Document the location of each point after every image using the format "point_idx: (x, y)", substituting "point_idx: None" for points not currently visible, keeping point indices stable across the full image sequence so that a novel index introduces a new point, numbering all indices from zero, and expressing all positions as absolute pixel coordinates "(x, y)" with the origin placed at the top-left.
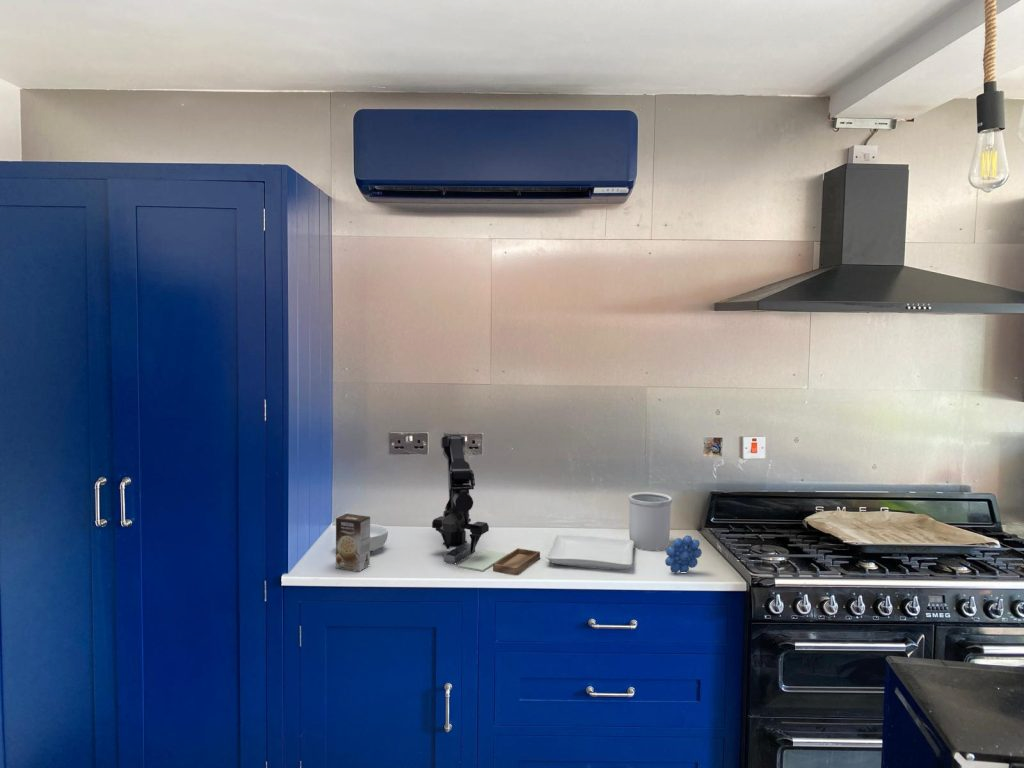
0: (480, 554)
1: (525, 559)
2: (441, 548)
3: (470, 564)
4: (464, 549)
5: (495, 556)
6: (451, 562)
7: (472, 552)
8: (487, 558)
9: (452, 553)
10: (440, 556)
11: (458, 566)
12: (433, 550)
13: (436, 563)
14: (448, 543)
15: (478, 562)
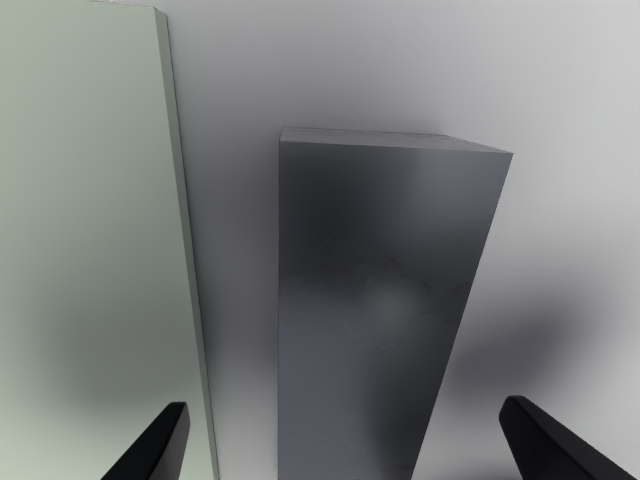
0: None
1: None
2: None
3: (18, 139)
4: (302, 440)
5: (14, 459)
6: (335, 129)
7: (168, 414)
8: (30, 397)
9: (384, 260)
10: (533, 295)
11: (153, 11)
12: (619, 387)
13: (533, 56)
14: (550, 475)
15: (2, 261)
